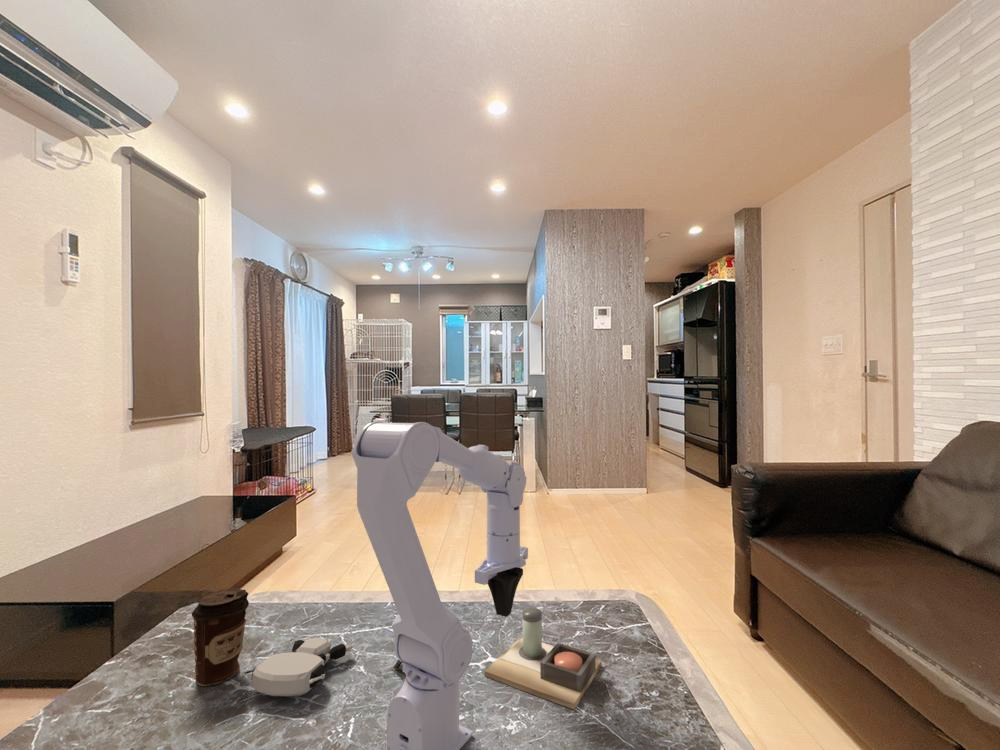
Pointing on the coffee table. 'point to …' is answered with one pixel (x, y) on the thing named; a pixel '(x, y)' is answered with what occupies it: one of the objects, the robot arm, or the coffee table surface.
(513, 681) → the wooden base tray
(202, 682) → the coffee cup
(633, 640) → the coffee table surface
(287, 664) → the robot toy
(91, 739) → the coffee table surface
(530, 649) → the green capped bottle
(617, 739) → the coffee table surface
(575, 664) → the button
